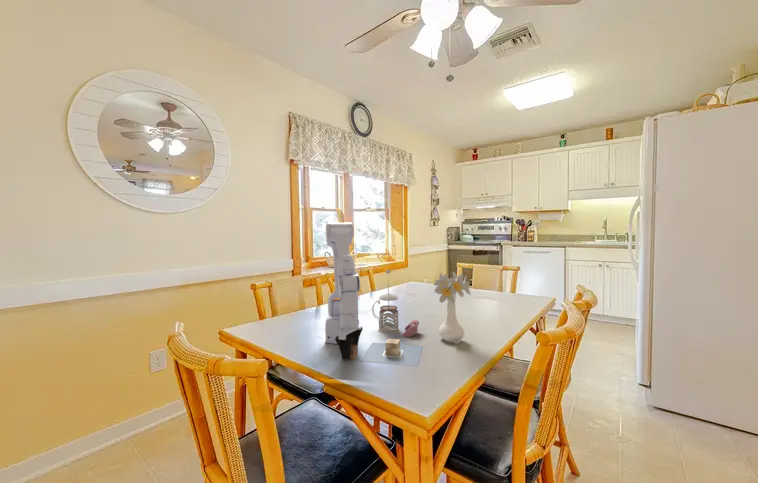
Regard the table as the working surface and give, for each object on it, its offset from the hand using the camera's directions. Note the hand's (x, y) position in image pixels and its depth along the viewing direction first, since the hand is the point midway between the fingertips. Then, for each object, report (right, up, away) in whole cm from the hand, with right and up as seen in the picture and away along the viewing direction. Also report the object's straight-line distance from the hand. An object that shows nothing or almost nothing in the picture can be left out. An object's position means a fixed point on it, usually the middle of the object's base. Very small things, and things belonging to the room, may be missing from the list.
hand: (350, 354), depth 100 cm
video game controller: (+22, -1, +22) cm, 31 cm away
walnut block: (0, -2, 0) cm, 2 cm away
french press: (+12, -1, +27) cm, 30 cm away
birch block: (+14, 0, +2) cm, 14 cm away
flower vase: (+36, -1, +13) cm, 38 cm away
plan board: (+14, -1, +2) cm, 14 cm away
